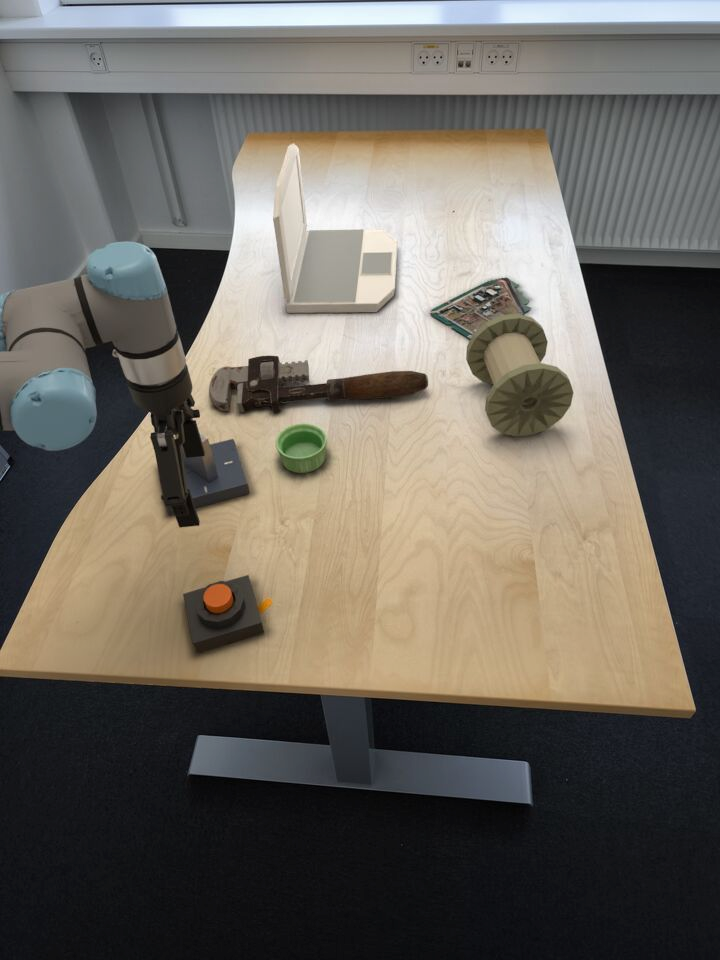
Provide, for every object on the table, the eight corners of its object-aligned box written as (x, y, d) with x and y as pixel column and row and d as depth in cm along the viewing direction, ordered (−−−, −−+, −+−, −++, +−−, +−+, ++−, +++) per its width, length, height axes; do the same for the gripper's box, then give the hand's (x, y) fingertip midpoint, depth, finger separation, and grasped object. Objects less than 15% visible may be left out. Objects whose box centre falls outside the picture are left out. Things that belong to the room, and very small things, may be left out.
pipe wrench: (209, 422, 141) (203, 405, 137) (213, 374, 149) (208, 356, 145) (430, 401, 141) (430, 383, 137) (422, 354, 148) (422, 336, 144)
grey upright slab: (218, 476, 126) (207, 436, 119) (209, 482, 125) (198, 443, 118) (192, 458, 129) (180, 419, 122) (183, 464, 128) (171, 425, 121)
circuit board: (500, 275, 170) (500, 271, 169) (548, 302, 162) (549, 298, 161) (427, 311, 161) (427, 307, 160) (474, 341, 153) (474, 338, 152)
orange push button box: (196, 653, 105) (189, 636, 102) (186, 603, 111) (180, 586, 108) (264, 632, 107) (259, 615, 103) (251, 585, 113) (246, 567, 109)
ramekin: (276, 445, 134) (273, 427, 131) (324, 437, 135) (322, 419, 132) (281, 479, 128) (278, 462, 125) (332, 471, 129) (330, 453, 126)
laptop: (394, 312, 162) (392, 196, 143) (286, 313, 164) (269, 199, 144) (398, 237, 185) (396, 129, 166) (303, 239, 187) (290, 132, 167)
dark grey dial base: (169, 515, 123) (165, 504, 122) (159, 467, 131) (156, 457, 130) (249, 493, 126) (247, 482, 124) (235, 448, 134) (233, 437, 132)
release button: (208, 617, 104) (205, 610, 103) (203, 595, 107) (201, 588, 105) (235, 609, 105) (233, 602, 104) (230, 587, 107) (228, 580, 106)
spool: (565, 430, 133) (579, 364, 122) (484, 440, 132) (491, 374, 121) (539, 375, 144) (549, 309, 134) (464, 383, 144) (468, 318, 133)
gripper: (136, 314, 97) (173, 432, 113) (110, 442, 80) (157, 560, 96) (193, 309, 98) (222, 427, 113) (178, 435, 80) (215, 554, 96)
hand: (192, 488), depth 104 cm, fingers open, 13 cm apart
